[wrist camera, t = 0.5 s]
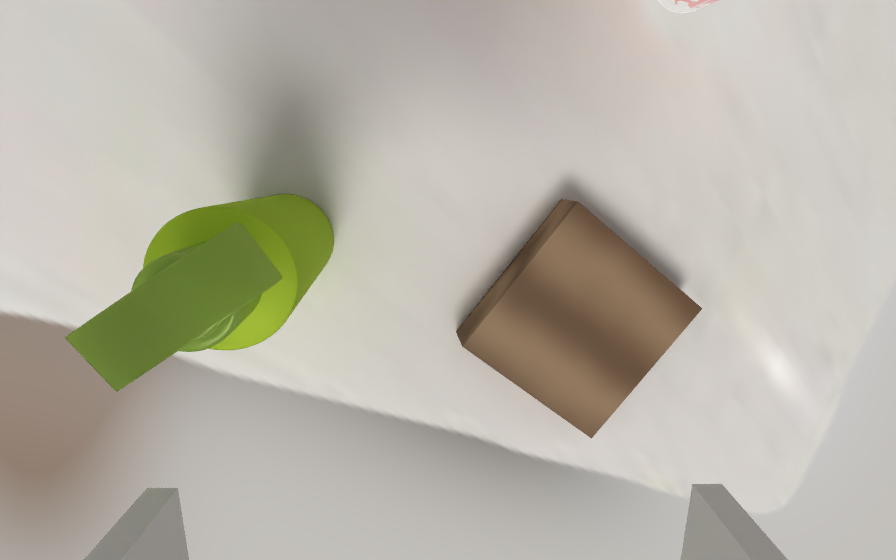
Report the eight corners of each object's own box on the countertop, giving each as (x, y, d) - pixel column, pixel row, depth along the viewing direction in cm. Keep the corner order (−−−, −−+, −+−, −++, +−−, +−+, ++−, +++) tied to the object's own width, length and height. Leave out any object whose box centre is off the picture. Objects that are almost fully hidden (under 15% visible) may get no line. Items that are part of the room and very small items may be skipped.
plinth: (561, 199, 33) (578, 201, 30) (676, 297, 36) (702, 308, 33) (456, 332, 34) (462, 346, 32) (575, 417, 37) (591, 438, 34)
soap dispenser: (364, 241, 32) (326, 341, 13) (280, 298, 32) (117, 481, 13) (310, 167, 31) (178, 153, 11) (223, 226, 31) (-55, 312, 12)
